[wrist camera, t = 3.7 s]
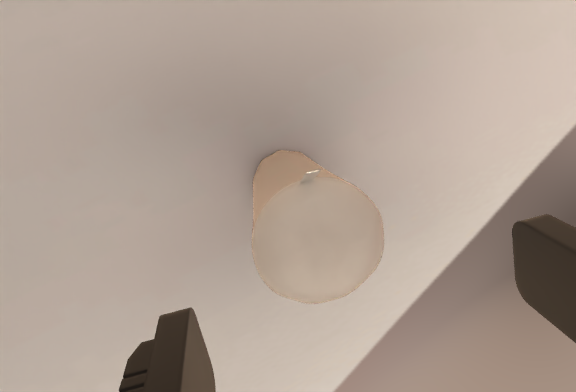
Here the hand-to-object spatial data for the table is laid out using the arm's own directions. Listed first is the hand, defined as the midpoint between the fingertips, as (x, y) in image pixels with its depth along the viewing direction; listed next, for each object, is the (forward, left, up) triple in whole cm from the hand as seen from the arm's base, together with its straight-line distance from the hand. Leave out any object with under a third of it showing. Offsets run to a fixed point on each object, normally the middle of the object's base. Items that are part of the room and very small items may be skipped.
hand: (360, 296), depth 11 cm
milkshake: (0, 0, -13) cm, 13 cm away
